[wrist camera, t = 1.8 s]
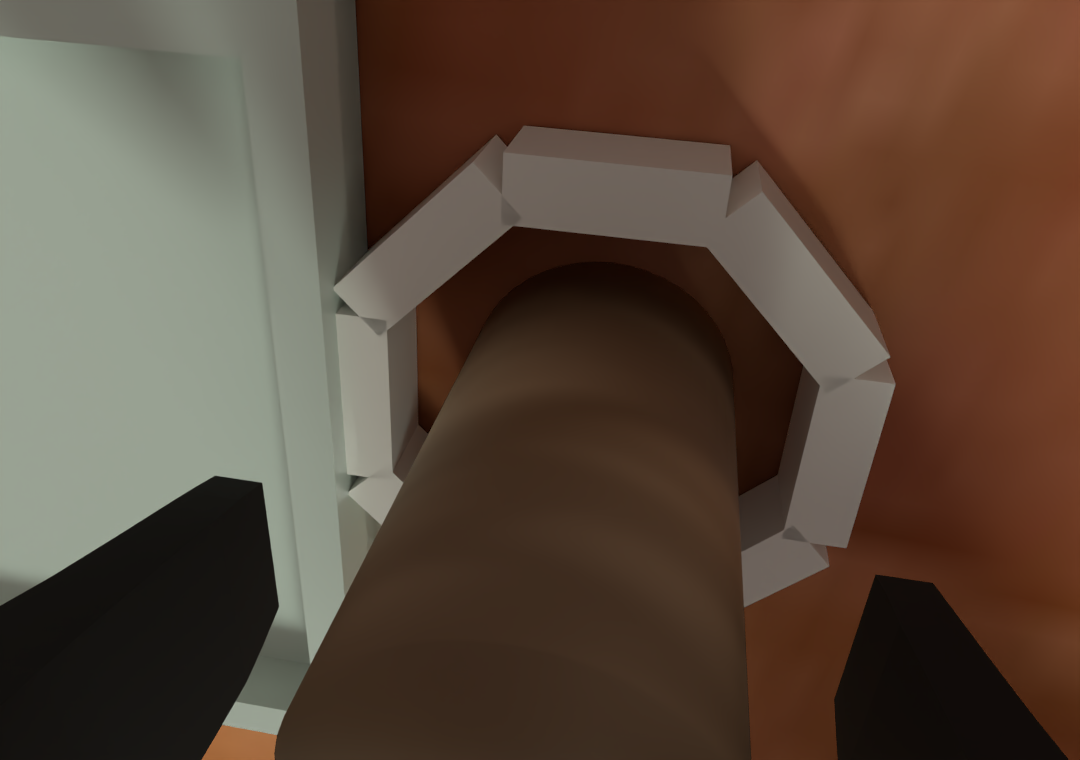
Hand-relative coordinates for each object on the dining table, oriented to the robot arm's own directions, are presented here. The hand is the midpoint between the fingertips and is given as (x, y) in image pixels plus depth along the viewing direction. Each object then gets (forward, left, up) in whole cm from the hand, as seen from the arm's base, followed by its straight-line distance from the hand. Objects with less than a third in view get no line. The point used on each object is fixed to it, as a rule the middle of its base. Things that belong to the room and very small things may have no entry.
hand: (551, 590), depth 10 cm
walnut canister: (0, 0, -5) cm, 5 cm away
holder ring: (0, 0, -5) cm, 5 cm away
